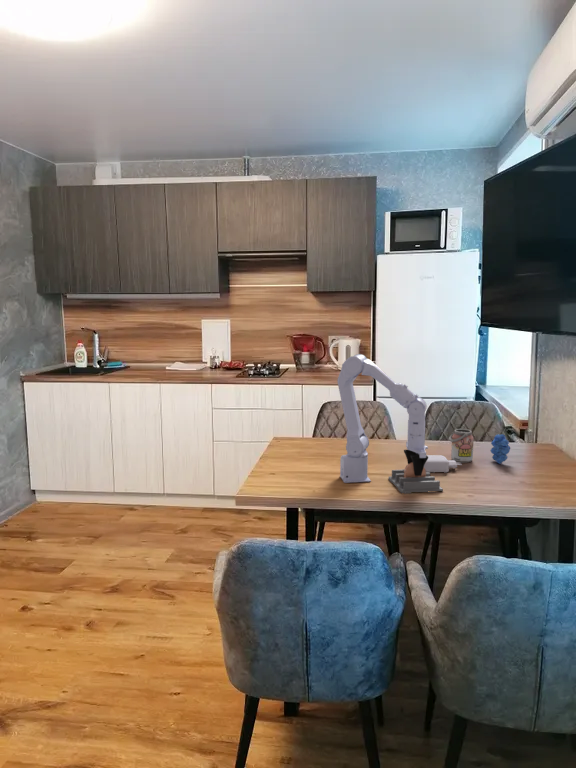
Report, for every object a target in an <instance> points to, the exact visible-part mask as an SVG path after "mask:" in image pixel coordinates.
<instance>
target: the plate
mask: <svg viewBox="0 0 576 768" xmlns="http://www.w3.org/2000/svg"><path fill="white" fill-rule="evenodd" d="M426 473H427V472H426V470H425V468H423V471H422V474H421V476H415V474H414V467H413V462H411V463H409V464H408V463H407V464H406V466H405V467H404V477H426Z"/></svg>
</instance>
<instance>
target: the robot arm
mask: <svg viewBox="0 0 576 768" xmlns="http://www.w3.org/2000/svg"><path fill="white" fill-rule="evenodd" d="M338 374H339V375H338V376H337V386H338V392H339V395H340V400H341V404H342V409H343V416H344V420H345V425H346V445H345V450H346V454H342V455H341V456H340V459H339V461H340V463H339V464H340V468H339V469H340V470H339V471H340V473H339V477H340V478H341V480H342V482H343V483H345V484H347V483H350V484H351V483H369V482H372V480H371V479H370V477H369V476H368V473H369V472H368V471H369V469H368V465H369V463H368V462H369V461H368V460H369V459H368V458H369V457H368V456H369V453H368V451H367V449H368V447H369V446H370V440H369V437H368V436H367V434H366V433H365V430H364V427H363V426H362V422H361V418H360V414H359V407H358V403H357V398H356V393H355V388H354V381H355V380H356V379H357V377H358V376H359V375H360V374H361V376H368V377H372V378H373V379H374V380H375V381H377V382H378V383H379V384H381V385H382V386H383V387H384V388H386V390H388V391H389V396H390V397H391V398H392V399H393V400H394V401H395V402H397V403H398V404H399V405H401V406H402V407H403V408H405V409H406V412H407V414H408V420H407V439H406V440H407V441H406V443H405V447H406V449H403V453H404V455H405V457H406V462H407V465H408V464H409V463H411V462H413V467H414V474H415V476H421V474H422V471H423V468H424V465H425V463H426V461H427V460H428V456H427V455H428V454H427V451H426V450H428V449H429V447H428V446H427V445H426V444H425V443H426V410H427V409H428V406H427V403H426V401H425V399H424V398H422V397H421V396H420V397H419V395H418V394H417V393H414V392H413V391H412V390H410V389H409V388H408V387H409V386H408V385H407V384H406V383H404V384H403V383H402V382H395V381H394V380H393V379H392V378H391V377H390V376H389V375H387V374H386V373H385V372H384V371H383V370H382V369H381V368H380V367H379V366H378V365H376V364H375V362H373V361H372V360H371V359H369V358H367V357H366V356H365V355H364V354H361V353H358V354H357V353H356V354H354V355H353V356H349V357H348V358H346V360H344V362H343V363H342V364H341V369H340V372H339V373H338Z"/></svg>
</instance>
